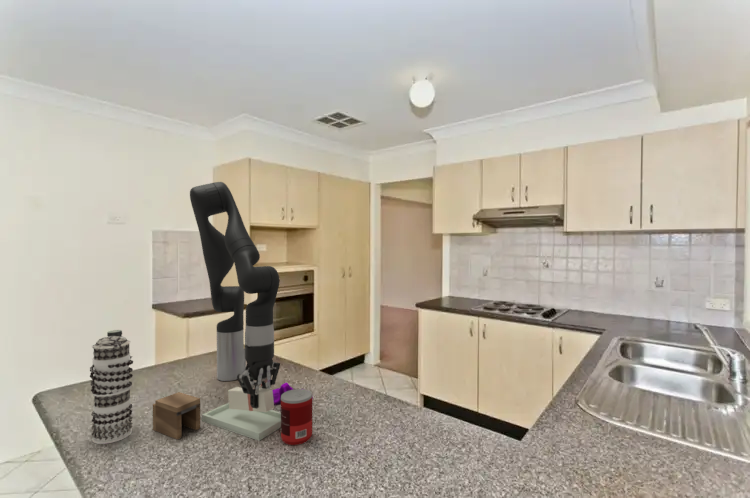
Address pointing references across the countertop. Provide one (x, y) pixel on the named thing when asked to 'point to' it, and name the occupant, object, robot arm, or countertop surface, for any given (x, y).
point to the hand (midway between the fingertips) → (259, 404)
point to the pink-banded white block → (242, 400)
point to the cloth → (280, 393)
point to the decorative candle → (111, 390)
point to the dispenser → (176, 414)
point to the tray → (244, 421)
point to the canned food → (296, 416)
